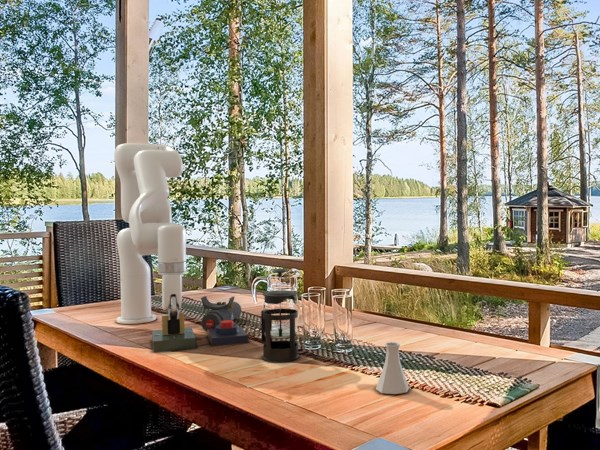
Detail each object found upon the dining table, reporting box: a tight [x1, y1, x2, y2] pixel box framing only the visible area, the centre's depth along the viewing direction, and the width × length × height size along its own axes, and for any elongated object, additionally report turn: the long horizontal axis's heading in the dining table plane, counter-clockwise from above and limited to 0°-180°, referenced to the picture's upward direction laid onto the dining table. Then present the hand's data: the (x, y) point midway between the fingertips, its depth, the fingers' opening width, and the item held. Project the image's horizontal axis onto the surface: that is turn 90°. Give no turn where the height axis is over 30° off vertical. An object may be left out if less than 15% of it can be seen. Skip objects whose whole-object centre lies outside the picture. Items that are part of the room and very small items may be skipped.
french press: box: [260, 268, 300, 363], centre depth 148 cm, size 12×9×23 cm
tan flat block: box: [161, 312, 186, 335], centre depth 161 cm, size 6×2×6 cm, turn 111°
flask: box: [375, 341, 410, 395], centre depth 123 cm, size 7×7×10 cm
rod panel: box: [151, 326, 197, 353], centre depth 161 cm, size 14×11×3 cm
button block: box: [206, 323, 249, 347], centre depth 167 cm, size 12×10×4 cm
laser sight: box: [200, 295, 242, 332], centre depth 185 cm, size 10×22×10 cm, turn 174°
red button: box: [221, 320, 234, 328], centre depth 167 cm, size 4×4×2 cm
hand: (173, 330), depth 161 cm, fingers open, 6 cm apart
